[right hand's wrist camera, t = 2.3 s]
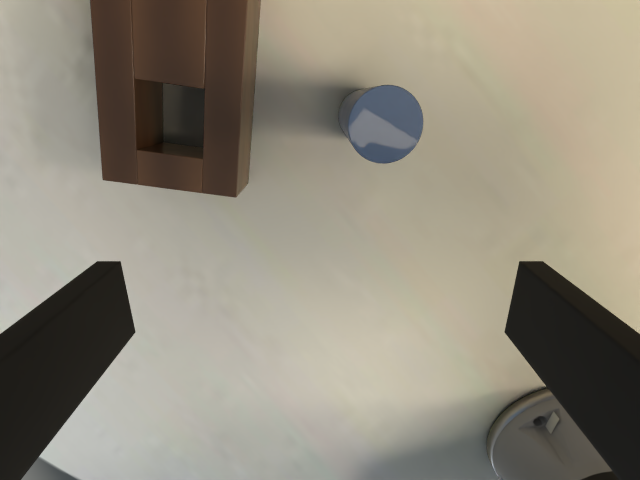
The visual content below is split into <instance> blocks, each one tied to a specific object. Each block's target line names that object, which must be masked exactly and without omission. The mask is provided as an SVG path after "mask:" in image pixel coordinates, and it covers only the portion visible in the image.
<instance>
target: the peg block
mask: <svg viewBox="0 0 640 480" xmlns="http://www.w3.org/2000/svg"><path fill="white" fill-rule="evenodd" d="M260 3H261V0H90V4H91V18H92V33H93V47H94V61H95V76H96V90H97V105H98V119H99V133H100V148H101V162H102V176H103V180H106V181H114V182H122V183H129V184H138V185H144V186H152V187H160V188H167V189H175V190H182V191H190V192H198V193H206V194H213V195H221V196H228V197H237V196H238V195H239V193H240V192H241V191H242V190H243V189H244V188H245V186H246V185H247V184H248V178H249V163H250V149H251V134H252V119H253V105H254V90H255V76H256V61H257V47H258V32H259V17H260ZM162 83H168V84H175V85H182V86H189V87H196V88H203V89H205V100H204V140H203V148H202V147H194V146H187V145H180V144H172V143H165V142H163V97H162Z"/></svg>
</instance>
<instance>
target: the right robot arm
mask: <svg viewBox="0 0 640 480" xmlns="http://www.w3.org/2000/svg"><path fill="white" fill-rule="evenodd" d="M134 333H135V328H134V323H133V319H132V314H131V309H130V304H129V299H128V295H127V290H126V285H125V280H124V276H123V271H122V266H121V261H97V262H96V263H94V264H93V265H92V266H90V267H89V268H88V269H86V270H85V271H84V272H82V273H81V274H80V275H78V276H77V277H76V278H74V279H73V280H72V281H70V282H69V283H68V284H66V285H65V286H64V287H62V288H61V289H60V290H58V291H57V292H56V293H54V294H53V295H52V296H50V297H49V298H48V299H46V300H45V301H44V302H42V303H41V304H40V305H38V306H37V307H36V308H34V309H33V310H32V311H30V312H29V313H28V314H26V315H25V316H24V317H22V318H21V319H20V320H18V321H17V322H16V323H14V324H13V325H12V326H10V327H9V328H8V329H6V330H5V331H4V332H2V333H1V334H0V480H21V479H22V478H23V476H24V475H25V474H26V472H27V471H28V470H29V469H30V467H31V466H32V465H33V463H34V462H35V461H36V459H37V458H38V457H39V456H40V454H41V453H42V452H43V450H44V449H45V448H46V447H47V445H48V444H49V443H50V441H51V440H52V439H53V438H54V436H55V435H56V434H57V432H58V431H59V430H60V429H61V427H62V426H63V425H64V423H65V422H66V421H67V420H68V418H69V417H70V416H71V414H72V413H73V412H74V411H75V409H76V408H77V407H78V405H79V404H80V403H81V402H82V400H83V399H84V398H85V396H86V395H87V394H88V393H89V391H90V390H91V389H92V387H93V386H94V385H95V384H96V382H97V381H98V380H99V378H100V377H101V376H102V375H103V373H104V372H105V371H106V369H107V368H108V367H109V365H110V364H111V363H112V362H113V360H114V359H115V358H116V356H117V355H118V354H119V353H120V351H121V350H122V349H123V347H124V346H125V345H126V344H127V342H128V341H129V340H130V338H131V337H132V336H133V335H134ZM505 333H506V335H507V336H508V337H509V338H510V340H511V341H512V342H513V344H514V345H515V346H516V347H517V349H518V350H519V351H520V353H521V354H522V355H523V356H524V358H525V359H526V360H527V362H528V363H529V364H530V365H531V367H532V368H533V369H534V371H535V372H536V373H537V375H538V376H539V377H540V378H541V380H542V381H543V382H544V384H545V385H546V386H547V387H548V389H544V390H541V391H537V392H535V393H532V394H530V395H527V396H525V397H523V398H522V399H520V400H518V401H516V402H515V403H513V404H512V405H511V406H509V407H508V408H507V409H506V410H505V411H504V412H503V413H502V414H501V415H500V416H499V417H498V418H497V420H496V421H495V422H494V424H493V426H492V427H491V430H490V432H489V435H488V439H487V454H488V457H489V460H490V462H491V464H492V466H493V468H494V470H495V472H496V474H497V476H498V477H499V479H500V480H640V334H639V333H638V332H636V331H635V330H634V329H632V328H631V327H630V326H628V325H627V324H626V323H624V322H623V321H622V320H620V319H619V318H618V317H616V316H615V315H614V314H612V313H611V312H610V311H608V310H607V309H606V308H604V307H603V306H602V305H600V304H599V303H598V302H596V301H595V300H594V299H592V298H591V297H590V296H588V295H587V294H586V293H584V292H583V291H582V290H580V289H579V288H578V287H576V286H575V285H574V284H572V283H571V282H570V281H568V280H567V279H566V278H564V277H563V276H562V275H560V274H559V273H558V272H556V271H555V270H554V269H552V268H551V267H550V266H548V265H547V264H546V263H544V262H543V261H519V266H518V271H517V276H516V280H515V285H514V290H513V295H512V299H511V304H510V309H509V314H508V319H507V323H506V328H505Z"/></svg>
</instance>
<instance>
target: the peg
mask: <svg viewBox="0 0 640 480" xmlns="http://www.w3.org/2000/svg"><path fill="white" fill-rule="evenodd" d="M338 119H339V124H340V126H341V128H342V130H343V132H344V133H345V135H346V136H347V138H348V139H349V141H350V142H351V144H352V145H353V147H354V148H355V150H356V151H357V152H358V153H359V154H360V155H361V156H362V157H364V158H365V159H367V160H369V161H372V162H376V163H391V162H395V161H398V160H400V159H402V158H403V157H405V156H406V155H407V154H409V153H410V152H411V151H412V150H413V149H414V147H415V146H416V144H417V143H418V141H419V139H420V136H421V133H422V129H423V115H422V110H421V108H420V105H419V103H418V101H417V100H416V99H415V97H414V96H413V95H412V94H411V93H409V92H408V91H407V90H405V89H403V88H401V87H398V86H394V85H382V86H377V87H372V88H366V89H361V90H357V91H354V92H352V93H350V94H349V95H348V96H347V97H346V98H345V99H344V100H343V102H342V103H341V105H340V108H339V113H338Z"/></svg>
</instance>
